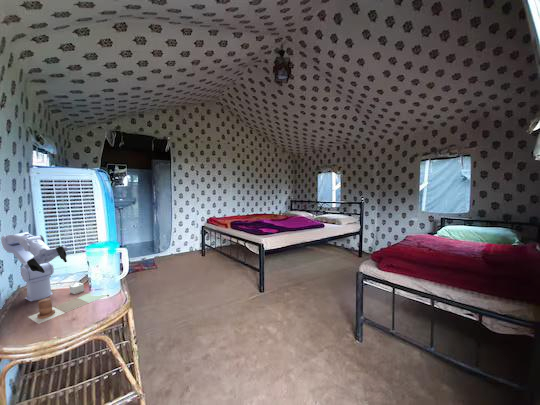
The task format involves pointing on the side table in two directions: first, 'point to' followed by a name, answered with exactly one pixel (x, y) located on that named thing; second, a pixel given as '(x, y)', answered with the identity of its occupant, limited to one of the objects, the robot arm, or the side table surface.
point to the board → (67, 307)
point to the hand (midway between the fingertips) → (54, 265)
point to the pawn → (45, 308)
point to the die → (76, 288)
